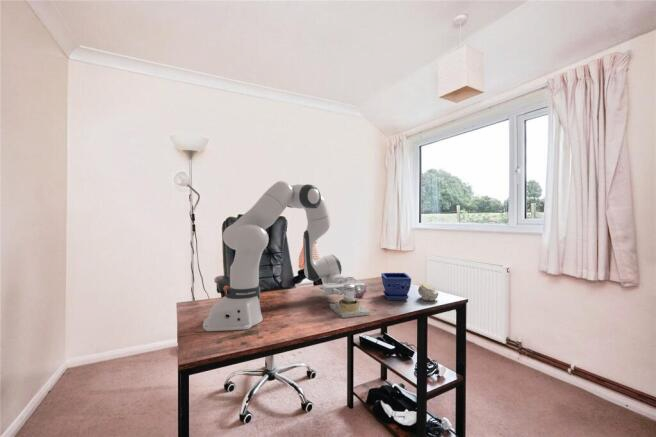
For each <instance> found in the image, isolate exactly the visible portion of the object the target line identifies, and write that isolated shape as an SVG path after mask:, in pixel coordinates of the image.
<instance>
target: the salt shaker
mask: <svg viewBox="0 0 656 437" xmlns="http://www.w3.org/2000/svg"><path fill="white" fill-rule="evenodd" d="M355 294H356V292H355V285H354V284H344V294H343V299H344V303H345V304H355V300H356V296H355Z"/></svg>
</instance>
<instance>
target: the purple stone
mask: <svg viewBox="0 0 656 437" xmlns="http://www.w3.org/2000/svg"><path fill="white" fill-rule="evenodd" d="M364 285H365V290H364V292H361V293H357V292H355V298H360V297H363V296H364V294H366V293H367V292H368V291H367V287H368V285H367V284H366V283H364Z"/></svg>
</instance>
